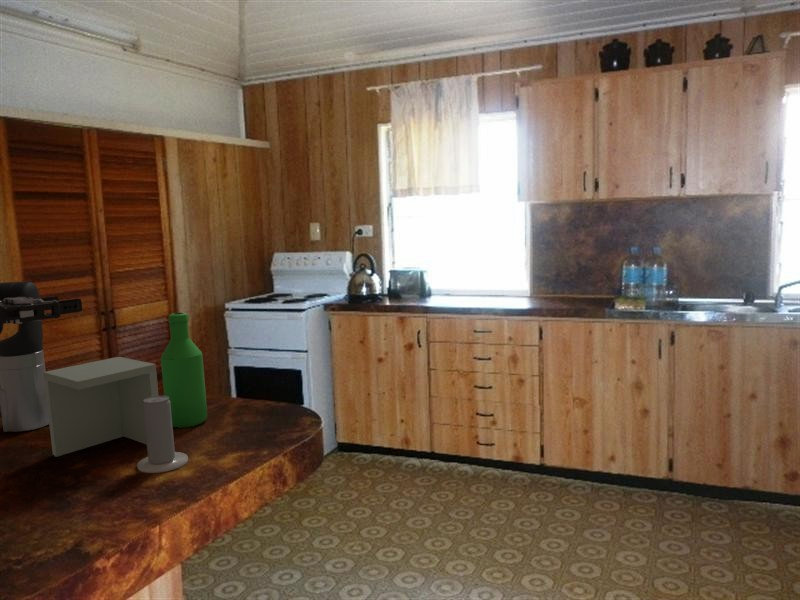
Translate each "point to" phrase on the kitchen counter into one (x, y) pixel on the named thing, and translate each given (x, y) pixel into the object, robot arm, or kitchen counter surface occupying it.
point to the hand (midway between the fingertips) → (69, 303)
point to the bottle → (183, 375)
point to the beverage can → (159, 429)
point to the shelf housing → (98, 402)
